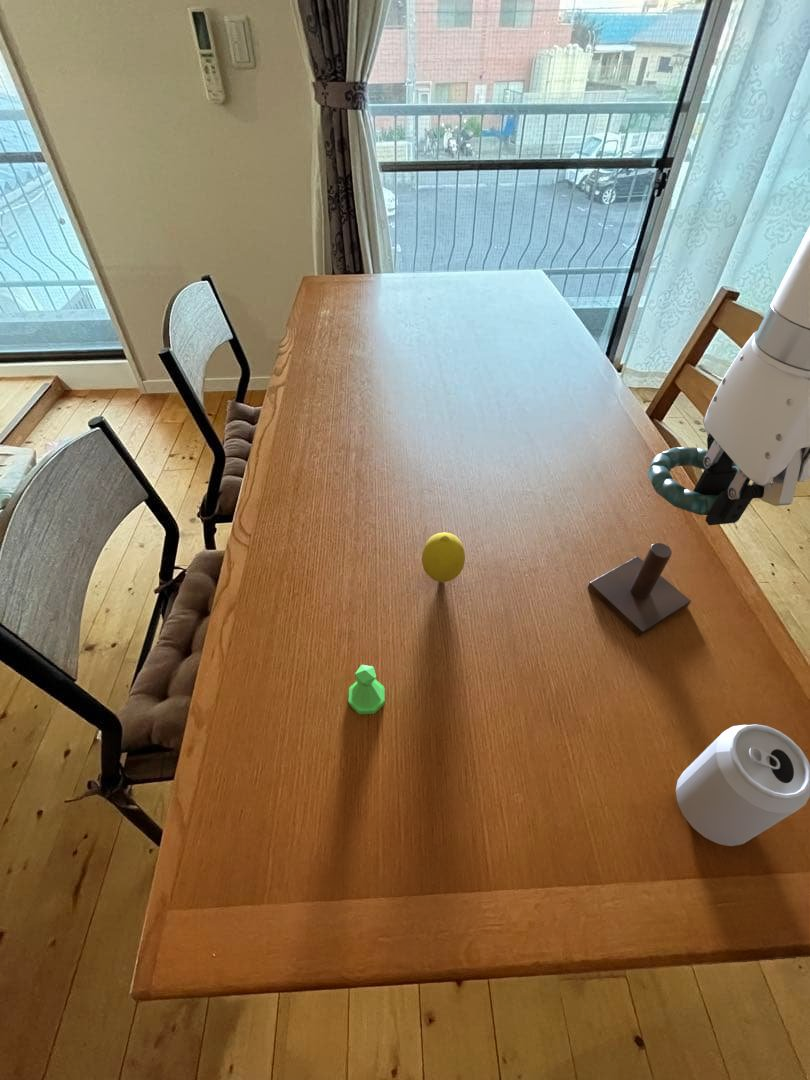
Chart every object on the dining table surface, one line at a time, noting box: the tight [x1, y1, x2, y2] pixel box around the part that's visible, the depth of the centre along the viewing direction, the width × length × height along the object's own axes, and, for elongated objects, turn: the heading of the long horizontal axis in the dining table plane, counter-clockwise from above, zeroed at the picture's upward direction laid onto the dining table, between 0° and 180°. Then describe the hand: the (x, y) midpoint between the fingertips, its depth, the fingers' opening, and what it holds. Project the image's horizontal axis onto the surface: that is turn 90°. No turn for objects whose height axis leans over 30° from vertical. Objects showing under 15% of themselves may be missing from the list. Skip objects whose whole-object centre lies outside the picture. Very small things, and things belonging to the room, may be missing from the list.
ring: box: [647, 446, 751, 516], centre depth 57 cm, size 10×10×2 cm
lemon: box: [421, 531, 466, 583], centre depth 71 cm, size 6×6×8 cm
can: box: [675, 723, 810, 847], centre depth 50 cm, size 8×8×12 cm
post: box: [587, 542, 692, 638], centre depth 69 cm, size 9×9×9 cm
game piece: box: [348, 664, 386, 715], centre depth 60 cm, size 4×4×6 cm
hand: (712, 509), depth 56 cm, fingers closed on ring, 2 cm apart
